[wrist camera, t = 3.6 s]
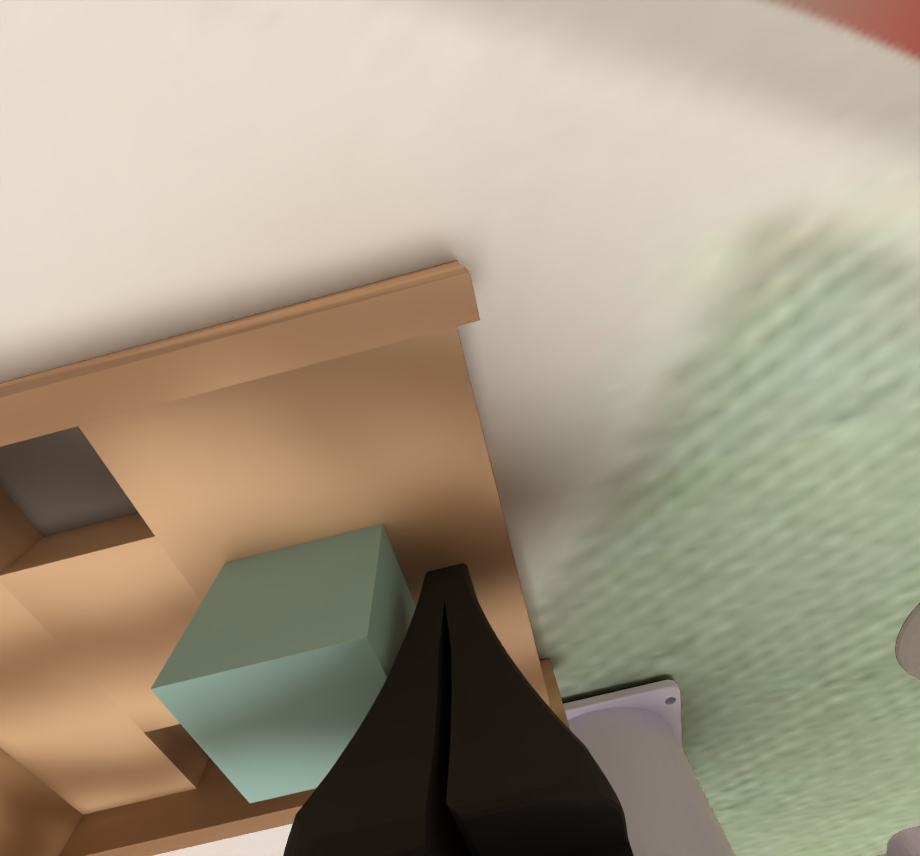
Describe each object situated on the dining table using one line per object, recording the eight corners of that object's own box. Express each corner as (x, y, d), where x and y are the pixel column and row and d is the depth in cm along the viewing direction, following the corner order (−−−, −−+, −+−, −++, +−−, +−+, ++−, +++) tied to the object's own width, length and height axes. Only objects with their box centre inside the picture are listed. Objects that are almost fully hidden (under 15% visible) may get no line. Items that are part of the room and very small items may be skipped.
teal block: (426, 635, 15) (428, 762, 12) (290, 667, 15) (249, 803, 12) (382, 523, 13) (367, 637, 9) (225, 562, 13) (150, 689, 10)
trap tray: (552, 672, 20) (586, 789, 16) (106, 777, 20) (26, 915, 16) (457, 260, 12) (474, 277, 8) (-253, 451, 13) (-573, 557, 9)
